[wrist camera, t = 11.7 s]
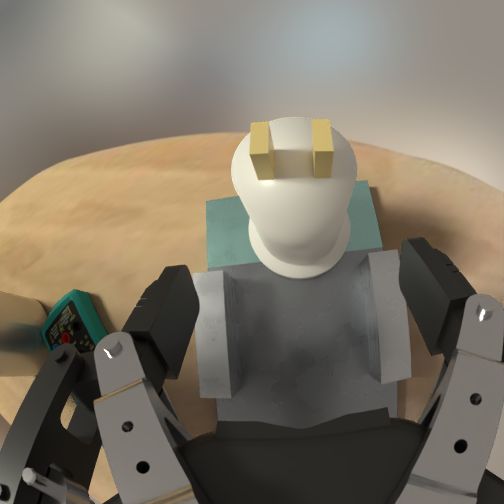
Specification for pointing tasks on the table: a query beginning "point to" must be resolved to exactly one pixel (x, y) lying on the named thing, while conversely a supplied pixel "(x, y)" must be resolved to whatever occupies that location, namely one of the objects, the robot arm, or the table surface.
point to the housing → (299, 326)
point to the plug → (296, 194)
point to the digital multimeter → (73, 324)
